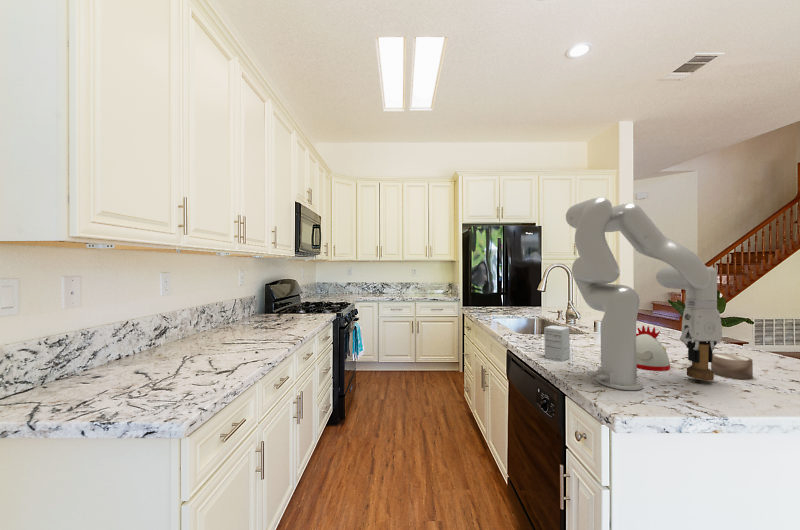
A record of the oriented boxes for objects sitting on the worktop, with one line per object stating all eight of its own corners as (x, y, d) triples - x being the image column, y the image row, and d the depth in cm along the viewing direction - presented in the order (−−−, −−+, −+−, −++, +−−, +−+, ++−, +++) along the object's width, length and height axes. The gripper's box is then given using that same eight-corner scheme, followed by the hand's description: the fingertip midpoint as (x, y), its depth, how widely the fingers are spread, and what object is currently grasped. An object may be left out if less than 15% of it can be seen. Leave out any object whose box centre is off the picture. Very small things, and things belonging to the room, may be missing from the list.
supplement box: (552, 354, 139) (551, 324, 140) (570, 358, 134) (570, 327, 134) (544, 357, 135) (543, 327, 135) (562, 361, 129) (562, 329, 129)
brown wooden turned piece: (715, 382, 101) (715, 324, 101) (687, 377, 105) (688, 321, 105) (712, 376, 107) (712, 321, 107) (685, 372, 111) (686, 319, 111)
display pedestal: (735, 380, 106) (734, 361, 106) (703, 370, 116) (703, 353, 116) (761, 378, 108) (761, 360, 108) (727, 369, 118) (727, 352, 118)
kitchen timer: (666, 374, 114) (665, 330, 114) (619, 365, 124) (619, 325, 124) (673, 365, 123) (672, 325, 123) (629, 358, 133) (628, 321, 133)
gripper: (689, 306, 101) (688, 365, 101) (736, 306, 103) (735, 364, 103) (666, 303, 109) (666, 358, 109) (711, 303, 111) (710, 357, 111)
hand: (700, 360), depth 106 cm, fingers closed on brown wooden turned piece, 3 cm apart
